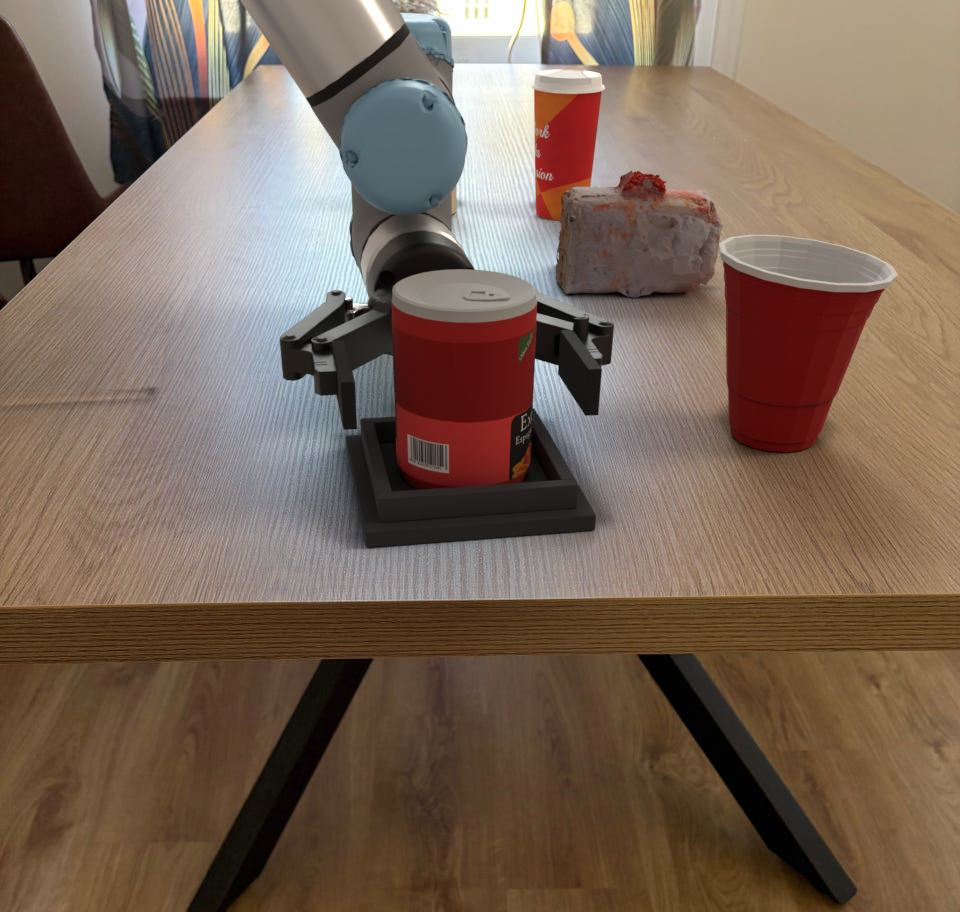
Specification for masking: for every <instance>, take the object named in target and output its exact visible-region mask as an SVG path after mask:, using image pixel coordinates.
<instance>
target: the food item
mask: <svg viewBox="0 0 960 912" xmlns="http://www.w3.org/2000/svg"><path fill="white" fill-rule="evenodd" d="M660 176H661V175H660V174H656V175H655V174H653V173H647V172H646V173H642V172H641V171H640V170H636V171H632V170H630V171H628V172H626V173H625V174H622V175H621V176H620V177H619V183H618V185H616V186H590V187H572V188H571V190H570V191H566V192H564V194H563V195H562V196H561V204H562V212H561V220H559V223H560V231H558V234H559V235H558V246H557V249H556V264H555V280H556V282H558V284H559V286H560V287H561V289H562V291H563V292H564V293H565V294H566V295H569V294H573V295H574V294H611V293H619V294H622V295H624V296H626V297H627V298H639V297H641V296H642V297H643V296H649V295H651V294H652V293H658V294H659V293H661V294H677V293H678V294H679V293H681V294H682V293H689V292H695V291H696V290H697V289H699V288H700V286H701V284H702V285H704V286H707V285H708V283H709V281H710V280H711V279H713V277H714V276H715V274H716V272H715V270H716V268H715V267H716V263H717V259H718V257H719V256H718V254H719V243H720V240H721V235H722V229H723V227H724V225H723V222H722V219H721V218H720V212H719V211H718V208H717V207H716V204H715V203H714V202H713V201H712V200H711V197H710V195H709V193H708V192H707V190H705V189H703V188H702V189H701V188H694V189H688V188H666V186H667V185H666V183H667V181H666V180H663V179H662V178H660ZM563 196H564V197H565V198H564V199H562V198H563Z"/></svg>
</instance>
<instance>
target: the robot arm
mask: <svg viewBox="0 0 960 912" xmlns="http://www.w3.org/2000/svg"><path fill="white" fill-rule="evenodd" d="M239 1H240V2H241V4H242V5H243V7H244V9H245V10H246V11H247V13H248V15H249V16H250V18H251V19H252V20H253V23H255V25H256V26H257V28H258V29H259V31H260V32H261V34H262V35H263V37H264V38H265V39H266V41H267V43H268V44H269V46H270V47H271V48H272V51H274V53H275V55H276V56H277V58H278V59H279V61H280V62H281V64H282V65H283V66H284V68H285V69H286V71H287V73H288V74H289V75H290V77H291V78H292V80H293V82H294V83H295V85H297V87H298V89H299V90H300V92H301V93H302V96H304V98H305V100H306V101H307V103H308V104H309V106H310V108H311V111H312V112H313V113H314V115H315V116H316V119H318V122H319V123H320V124H321V125H322V127H323V129H325V131H326V133H327V135H328V137H330V139H331V140H332V142H333V144H334V145H335V146H336V148H337V149H338V152H339V158H340V160H341V164H342V169H343V171H344V173H345V174H346V176H347V178H348V180H349V181H350V186H351V188H350V189H351V190H350V191H351V206H352V207H351V209H352V210H351V211H352V213H351V218H350V221H349V227H348V231H349V236H350V240H349V248H350V252H351V255H352V257H353V258H354V260H355V265H356V266H357V268H358V270H359V273H360V275H361V279H362V282H363V284H364V286H365V291H366V294H367V296H368V300H367V302H354V298H353V297H351V296H346V292H345V291H343V290H339V289H333V290H331V291H328V292H327V293H326V296H325V301H324V302H323V303H322V304H320V305H319V306H318V307H316V308H315V309H314V310H313V311H311V312H310V313H309V314H307V315H306V316H305V317H303V318H302V319H301V320H299V321H298V322H297V323H295V324H294V325H293V326H292V327H290V328H289V329H288V330H287V331H285V332H284V333H283V334H281V335H280V336H279V349H280V361H281V371H282V378H283V379H284V380H286V381H287V382H288V381H291V382H294V381H299V380H302V379H303V378H304V377H305V376H307V375H310V376H312V377H313V387H314V393H315V394H316V395H317V396H321V397H326V396H336V401H337V405H338V411H339V415H340V421H341V426H342V430H343V431H351V430H358V417H357V399H356V398H357V397H356V381H355V376H354V373H353V371H355V370H357V369H359V368H360V367H362V366H364V365H366V364H368V363H370V362H372V361H374V360H376V359H377V358H379V357H381V356H383V355H387V356H391V357H393V345H392V303H391V300H392V290H393V286H394V285H395V284H396V283H397V282H399V281H401V280H402V279H404V278H407V277H410V276H412V275H416V274H420V273H424V272H430V271H438V270H453V269H472V270H476V269H475V267H474V265H473V263H472V262H471V260H470V259H469V257H468V255H467V254H466V252H465V250H464V248H463V247H462V245H461V243H460V242H459V240H458V239H457V237H455V235H454V233H453V227H452V226H453V225H452V219H453V217H452V215H453V214H452V191H453V190H454V188H455V187H456V185H458V183H459V181H460V179H461V177H462V174H463V171H464V169H465V163H466V157H467V152H468V144H469V137H468V134H467V130H466V122H465V120H464V117H463V116H462V113H461V112H460V111H459V109H458V107H457V106H456V105H457V104H456V102H455V98H454V95H453V87H454V86H453V85H454V83H453V82H454V81H453V79H454V78H453V77H454V69H455V60H454V58H453V45H452V44H453V43H452V30H451V27H450V25H449V23H448V22H447V21H446V20H445V19H444V18H442V17H440V16H437V15H433V14H426V13H415V12H400V11H399V9H398V6H397V5H396V3H395V2H394V0H239ZM536 299H537V328H536V349H535V360H538V361H541V362H545V363H548V364H552V365H554V366H557V375H558V376H559V378H560V379H561V381H562V382H563V384H564V385H565V387H566V389H567V390H568V391H569V393H570V395H571V396H572V398H573V399H574V401H575V402H576V404H577V405H578V407H579V408H580V410H581V412H582V413H583V415H584V416H585V417H588V416H599V411H600V399H601V398H600V397H601V385H602V374H603V373H602V372H603V368H602V366H608V365H610V364H611V363H612V356H613V345H614V344H613V342H614V331H615V323H614V322H613V321H611V320H608V319H605V318H603V317H600V316H599V315H596V314H593V313H590V312H589V311H585V310H583V309H580V308H578V307H576V306H573V305H571V304H569V303H566V302H563V301H561V300H558V299H555V298H553V297H551V296H548V295H545V294H543V293H541V292H540V291H539V290H538V289H536Z"/></svg>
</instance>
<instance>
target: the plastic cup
mask: <svg viewBox="0 0 960 912" xmlns="http://www.w3.org/2000/svg"><path fill="white" fill-rule="evenodd" d="M718 253H719V257H720V260H721V261H722V266H723V281H724V296H723V297H724V300H725V363H726V364H725V365H726V366H725V367H726V369H725V370H726V371H725V372H726V373H725V375H726V376H725V377H726V385H727V410H728V411H727V413H728V415H727V416H728V418H727V419H728V423H729V429H730V435H731V437H733V438H734V439H735V440H736V441H737V442H738V443H741V444H743V445H746V446H747V447H750V448H752V449H758V450H762V451H767V452H777V453H778V452H779V453H790V452H798V451H804V450H806V449H808V448H811V447H812V446H813V445H814V444H815V443H816V441H817V439H818V437H819V435H820V434H821V432H822V430H823V428H824V426H825V423H826V420H827V418H828V415H829V412H830V409H831V406H832V404H833V401H834V399H835V397H836V396H837V395H838V392H839V390H840V388H841V385H842V383H843V380H844V378H845V375H846V373H847V371H848V368H849V365H850V362H851V360H852V358H853V355H854V353H855V350H856V347H857V345H858V343H859V340H860V338H861V335H862V333H863V330H864V327H865V325H866V323H867V320H869V318H870V317H871V315H872V312H873V310H874V308H875V306H876V304H877V303H878V302H879V301H880V299H881V296H882V294H883V293H884V292H885V290H886V289H888V288H889V287H890V286H891V285H892V283H894V282H895V280H896V279H897V278H898V276H899V273H898V272H897V271H896V270H895V268H894V267H893V265H892V264H890V263H888V262H886V261H884V260H883V259H880V258H878V257H877V256H875V255H872V254H870V253H867V252H864V251H861V250H857V249H854V248H852V247H848V246H846V245H840V244H836V243H831V242H827V241H821V240H817V239H812V238H805V237H796V236H788V235H780V234H778V235H777V234H745V235H738V236H729V237H728V238H726V239H724V240H722V241H721V242H720V241H719V247H718Z"/></svg>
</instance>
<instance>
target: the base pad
mask: <svg viewBox="0 0 960 912" xmlns="http://www.w3.org/2000/svg"><path fill="white" fill-rule="evenodd" d="M359 426H360V434H352V435H346V436H345V445H346V446H345V447H346V448H345V449H346V454H347V459H348V465H349V469H350V474H351V478H352V484H353V488H354V489H353V490H354V494H355V498H356V504H357V509H358V514H359V518H360V523H361V528H362V534H363V538H364V539H363V540H364V544H365V547H366V548H380V547H392V546H393V547H394V546H405V545H406V546H407V545H418V544H419V545H420V544H431V543H432V544H433V543H442V542H443V543H444V542H457V541H458V542H459V541H470V540H471V541H472V540H484V539H496V538H497V539H498V538H509V537H510V538H511V537H523V536H535V535H536V536H537V535H547V534H548V535H549V534H560V533H572V532H573V533H574V532H575V533H576V532H588V531H595V530H596V523H597V522H596V521H597V515H596V512H595V510H594V509H593V508H592V505H591V504H590V502H589V501H588V498H587V497H586V495H585V493H584V492H583V490H582V488H581V486H580V484H579V483H578V481H577V480H576V478H575V476H574V473H573V472H572V471H571V469H570V466H568V464H567V462H566V460H565V458H564V457H563V455H562V453H561V452H560V450H559V448H558V446H557V445H556V443H555V441H554V439H553V437H552V435H551V434H550V432H549V430H548V429H547V426H546V425H545V423H544V422H543V421H542V419H541V417H540V415H539V413H538V412H537V410H536V408H534V407H533V412H532V433H531V454H530V464H529V467H528V469H527V472H526V474H525V477H524V479H523V480H522V481H521V482H520V483H510V484H496V485H482V486H467V487H453V488H438V489H424V490H419V489H417V488H415V487H413V486H412V485H410V484H409V483H408V482H406V480H405V479H404V478H403V477H402V474H401V471H400V468H399V465H398V462H397V457H396V429H395V415H394V416H382V417H381V416H379V417H362V418H360V419H359Z"/></svg>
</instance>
